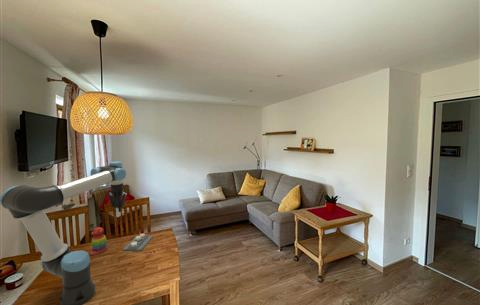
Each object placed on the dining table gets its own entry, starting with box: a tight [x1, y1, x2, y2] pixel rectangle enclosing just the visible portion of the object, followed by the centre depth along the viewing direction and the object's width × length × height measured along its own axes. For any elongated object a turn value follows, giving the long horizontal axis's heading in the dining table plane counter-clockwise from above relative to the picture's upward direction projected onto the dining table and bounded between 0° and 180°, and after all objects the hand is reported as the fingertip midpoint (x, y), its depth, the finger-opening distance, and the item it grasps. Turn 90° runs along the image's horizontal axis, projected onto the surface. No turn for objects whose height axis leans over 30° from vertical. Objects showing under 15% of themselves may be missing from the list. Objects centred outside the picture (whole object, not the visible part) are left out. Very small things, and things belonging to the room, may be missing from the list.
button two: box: [135, 235, 141, 242], centre depth 164 cm, size 4×4×3 cm
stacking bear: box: [89, 226, 108, 256], centre depth 155 cm, size 11×10×18 cm
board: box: [122, 234, 154, 252], centre depth 165 cm, size 20×14×3 cm
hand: (118, 216), depth 146 cm, fingers closed
